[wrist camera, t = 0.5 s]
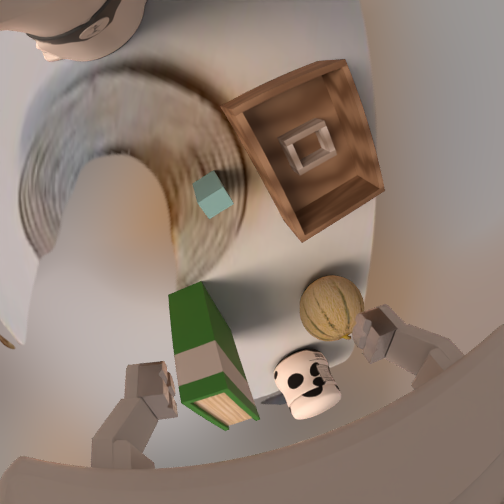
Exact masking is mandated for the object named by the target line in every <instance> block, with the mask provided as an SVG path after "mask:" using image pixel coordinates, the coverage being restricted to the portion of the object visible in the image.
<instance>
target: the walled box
mask: <svg viewBox="0 0 504 504" xmlns="http://www.w3.org/2000/svg"><path fill="white" fill-rule="evenodd" d="M221 108H222V110H223V112H224V113H225V115H226V117H227V118H228V120H229V122H230V123H231V125H232V127H233V129H234V130H235V132H236V134H237V136H238V137H239V139H240V141H241V143H242V144H243V146H244V148H245V150H246V151H247V153H248V155H249V157H250V159H251V160H252V162H253V164H254V166H255V168H256V169H257V171H258V173H259V175H260V177H261V179H262V180H263V182H264V184H265V186H266V188H267V190H268V191H269V193H270V195H271V197H272V199H273V201H274V203H275V205H276V207H277V208H278V210H279V212H280V214H281V216H282V218H283V220H284V221H285V223H286V224H287V225H288V226H289V228H290V229H291V230H292V231H293V232H294V234H295V235H296V236H297V237H298V239H299V240H300V241H301V242H302V243H303V242H304V241H306V240H308V239H309V238H311V237H312V236H314V235H316V234H317V233H319V232H320V231H322V230H324V229H325V228H327V227H328V226H330V225H332V224H333V223H335V222H336V221H338V220H340V219H341V218H343V217H344V216H346V215H348V214H349V213H351V212H352V211H354V210H355V209H357V208H359V207H360V206H362V205H363V204H365V203H366V202H368V201H370V200H371V199H373V198H374V197H376V196H377V195H379V194H381V193H382V192H384V191H385V189H384V184H383V180H382V175H381V171H380V167H379V162H378V158H377V154H376V150H375V146H374V143H373V139H372V135H371V132H370V128H369V125H368V122H367V119H366V115H365V112H364V109H363V106H362V103H361V100H360V97H359V94H358V92H357V89H356V86H355V83H354V81H353V78H352V75H351V73H350V70H349V68H348V65H347V63H346V60H345V59H340V60H325V61H317V62H314V63H311V64H309V65H306V66H304V67H301V68H299V69H296V70H294V71H291V72H289V73H287V74H284V75H282V76H280V77H278V78H275V79H273V80H271V81H269V82H267V83H265V84H262V85H260V86H258V87H256V88H254V89H252V90H250V91H248V92H246V93H244V94H242V95H240V96H238V97H236V98H235V99H233V100H231V101H229V102H227V103H225V104H224V105H222V106H221Z"/></svg>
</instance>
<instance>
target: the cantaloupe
mask: <svg viewBox="0 0 504 504" xmlns="http://www.w3.org/2000/svg"><path fill="white" fill-rule="evenodd" d="M361 312H364V302H363V298H362V295H361V293H360V291H359V289H358V288H357V287H356V285H354V284H353V283H352V282H351V281H350V280H348V279H346V278H343V277H340V276H334V275H331V276H325V277H322V278H320V279H317V280H316V281H314V282H313V283H312V284H310V285H309V286H308V288H307V289H306V290H305V291H304V293H303V295H302V297H301V301H300V317H301V321H302V323H303V325H304V327H305V329H306V330H307V331H308V332H309V333H310V334H311V335H312V336H314V337H315V338H317V339H319V340H323V341H335V340H339V339H341V338H344V339H351V336H348V335H349V334H351V333H352V331H353V327H354V326H355V325H356V324H357V322H356V321H355V318H356V315H357V314H358V313H361Z"/></svg>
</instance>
